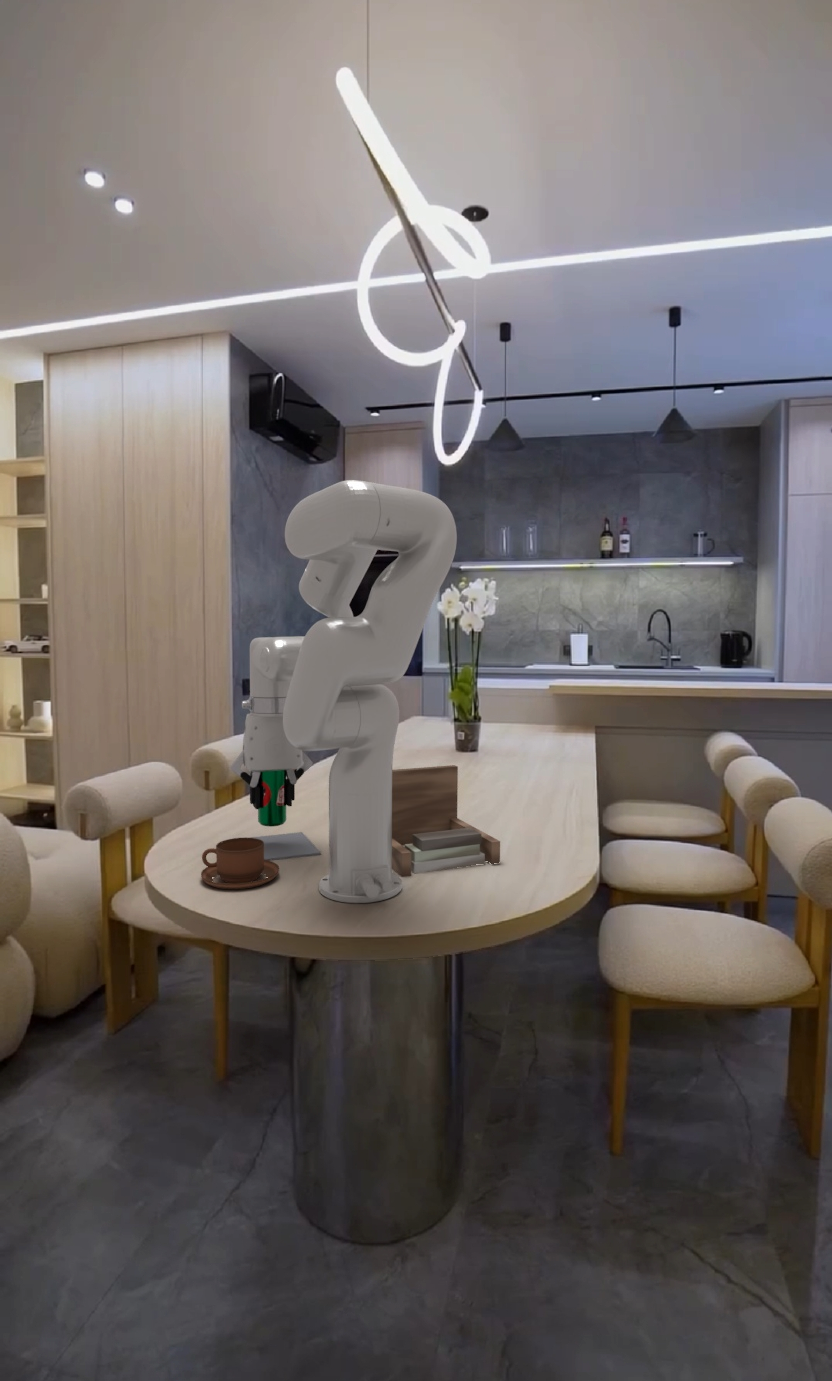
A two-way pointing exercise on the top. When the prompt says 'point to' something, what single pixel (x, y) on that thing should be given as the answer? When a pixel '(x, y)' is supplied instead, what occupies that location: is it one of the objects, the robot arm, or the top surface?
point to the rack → (433, 824)
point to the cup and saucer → (238, 864)
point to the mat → (287, 846)
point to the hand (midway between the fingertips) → (272, 805)
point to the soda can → (272, 798)
